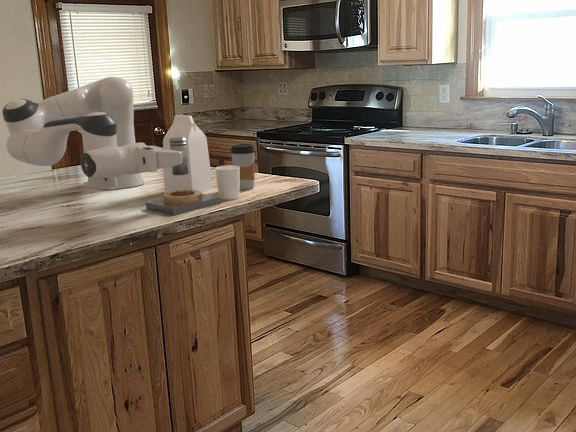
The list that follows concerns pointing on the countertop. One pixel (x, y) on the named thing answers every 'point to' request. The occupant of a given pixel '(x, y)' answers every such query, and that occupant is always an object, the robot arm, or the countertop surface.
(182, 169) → the salt shaker
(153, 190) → the countertop surface
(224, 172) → the white cup
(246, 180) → the coffee cup
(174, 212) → the ring block
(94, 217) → the countertop surface
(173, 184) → the milk
